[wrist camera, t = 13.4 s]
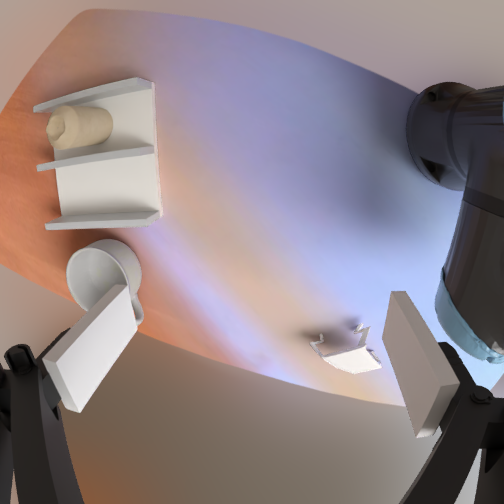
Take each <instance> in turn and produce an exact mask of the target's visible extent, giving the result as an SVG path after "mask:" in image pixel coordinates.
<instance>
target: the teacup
mask: <svg viewBox="0 0 504 504" xmlns="http://www.w3.org/2000/svg"><path fill="white" fill-rule="evenodd" d="M141 278H142V272H141V266H140V263H139V260H138V258H137V257H136V255H135V254H134V252H133V251H132V250H131V249H130V248H129V247H128V246H127V245H125V244H124V243H122V242H120V241H117V240H113V239H103V240H99V241H96V242H94V243H92V244H90V245H88V246H86V247H84V248H82V249H79V250H78V251H76V252H75V253H74V254H73V255H72V256H71V258H70V259H69V261H68V264H67V268H66V279H67V284H68V288H69V290H70V293H71V295H72V296H73V298H74V300H75V301H76V302H77V303H78V305H79V306H81V307H82V308H83V309H84V310H85V311H87V312H88V311H89V310H90V309H91V308H92V307H93V306H94V305H95V304H96V303H97V302H98V301H99V300H100V299H101V298H102V297H103V296H104V295H105V294H106V293H107V292H108V291H109V290H110V289H111V288H112V287H113V286H114V285H115V284H117V285H128V289H129V294H130V299H131V303H132V307H133V309H134V312H135V316H136V319H135V321H136V325H137V326H138V325H139V324H141V323H142V321H143V318H144V313H143V309H142V306H141V304H140V302H139V300H138V294H137V291H138V289H139V287H140V284H141Z"/></svg>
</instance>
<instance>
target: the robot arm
mask: <svg viewBox="0 0 504 504" xmlns="http://www.w3.org/2000/svg"><path fill="white" fill-rule="evenodd" d="M406 131H407V141H408V146H409V149H410V152H411V155H412V157H413V159H414V161H415V163H416V165H417V166H418V168H419V169H420V170H421V172H422V173H423V174H424V175H425V176H426V177H427V178H428V179H429V180H431V181H432V182H434V183H435V184H437V185H439V186H442V187H444V188H447V189H450V190H455V191H464V195H463V199H462V203H461V207H460V212H459V216H458V220H457V224H456V228H455V232H454V236H453V239H452V243H451V246H450V249H449V253H448V256H447V259H446V262H445V264H444V266H443V268H442V270H441V280H440V284H439V287H438V290H437V294H436V297H435V310H436V313H437V317H438V321H439V323H440V325H441V326H442V328H443V330H444V331H445V332H446V334H447V335H448V336H449V337H450V339H451V340H452V341H453V342H454V343H455V344H457V345H458V346H459V347H460V348H461V349H462V350H464V351H465V352H467V353H468V354H470V355H471V356H473V357H475V358H477V359H479V360H482V361H483V360H485V359H486V360H487V361H488V362H489V363H493V364H499V363H503V362H504V86H497V87H490V88H485V89H478V90H476V89H474V88H471V87H469V86H466V85H464V84H461V83H456V82H444V83H439V84H436V85H432V86H430V87H428V88H426V89H425V90H423V91H422V92H421V93H420V94H419V95H418V96H417V97H416V99H415V100H414V102H413V104H412V106H411V108H410V110H409V114H408V118H407V128H406ZM136 331H137V325H136V321H135V317H134V312H133V308H132V303H131V299H130V294H129V289H128V285H117V284H115V285H114V286H113V287H112V288H111V289H110V290H109V291H108V292H107V293H106V294H105V295H104V296H103V297H102V298H101V299H100V300H99V301H98V302H97V303H96V304H95V305H94V306H93V307H92V308H91V309H90V310H89V311H88V312H87V313H86V314H85V315H84V316H83V317H82V318H81V319H80V320H79V321H78V322H77V323H76V324H75V325H74V326H73V327H72V328H69V329H67V330H65V331H63V332H62V333H61V334H60V335H59V336H58V337H57V338H56V339H55V340H54V341H53V342H52V343H51V344H50V345H49V346H48V347H47V348H46V349H45V350H44V351H43V352H42V353H41V354H40V355H39V356H38V357H37V359H35V358H34V356H33V353H32V351H31V349H30V347H29V346H28V345H26V344H18V345H15V346H13V347H11V348H10V349H9V350H7V351H6V353H5V355H4V358H5V360H6V362H7V364H8V366H9V368H10V370H5V369H3V367H2V365H1V363H0V504H10V499H11V488H12V479H13V471H14V474H15V482H16V489H17V495H18V501H19V504H84V501H83V498H82V495H81V492H80V489H79V486H78V483H77V479H76V476H75V472H74V469H73V465H72V462H71V458H70V454H69V450H68V445H67V441H66V437H65V432H64V427H63V423H62V417H61V412H60V409H59V406H58V405H57V404H58V403H59V401H60V400H61V399H62V401H63V403H64V405H65V407H66V408H67V409H69V410H72V411H75V412H78V413H80V412H81V411H82V409H83V408H84V406H85V405H86V403H87V402H88V400H89V398H90V397H91V396H92V394H93V393H94V391H95V390H96V388H97V387H98V385H99V384H100V382H101V381H102V379H103V378H104V376H105V375H106V374H107V372H108V371H109V369H110V368H111V366H112V365H113V364H114V362H115V360H116V359H117V358H118V356H119V355H120V354H121V352H122V351H123V349H124V348H125V346H126V345H127V344H128V342H129V341H130V339H131V338H132V336H133V335H134V334H135V332H136ZM382 340H383V342H384V345H385V348H386V350H387V353H388V356H389V358H390V361H391V364H392V367H393V369H394V372H395V375H396V378H397V381H398V384H399V386H400V389H401V392H402V395H403V398H404V401H405V404H406V407H407V410H408V413H409V416H410V420H411V423H412V426H413V429H414V433H415V436H416V438H419V437H425V436H431V435H434V434H435V432H436V430H437V428H438V426H440V428H441V431H442V434H441V436H440V437H439V439H438V441H437V442H436V444H435V446H434V448H433V450H432V452H431V454H430V456H429V458H428V459H427V461H426V463H425V464H424V466H423V468H422V469H421V471H420V472H419V474H418V476H417V477H416V479H415V480H414V482H413V483H412V485H411V487H410V488H409V490H408V491H407V492H406V494H405V495H404V497H403V499H402V500H401V501H400V503H399V504H454V503H455V501H456V499H457V497H458V495H459V493H460V491H461V489H462V487H463V485H464V483H465V480H466V478H467V476H468V474H469V472H470V469H471V467H472V464H473V462H474V460H475V457H476V455H477V452H478V450H479V449H482V453H481V462H480V470H479V477H478V484H477V490H476V495H475V501H474V504H504V398H495V397H493V394H492V393H491V392H490V391H489V390H488V389H487V388H485V387H483V386H478V385H476V384H475V382H474V380H473V379H472V377H471V375H470V373H469V372H468V370H467V368H466V367H465V365H464V364H463V362H462V360H461V358H459V355H458V354H457V352H456V350H455V349H454V348H453V347H452V346H451V345H449V344H448V343H447V342H438V343H437V341H436V339H435V338H434V336H433V334H432V333H431V331H430V329H429V328H428V326H427V324H426V323H425V321H424V320H423V318H422V316H421V315H420V313H419V312H418V310H417V308H416V307H415V305H414V304H413V302H412V301H411V299H410V297H409V296H408V294H407V293H406V291H391V295H390V301H389V306H388V311H387V317H386V322H385V326H384V331H383V336H382Z"/></svg>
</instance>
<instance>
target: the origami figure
mask: <svg viewBox="0 0 504 504" xmlns="http://www.w3.org/2000/svg"><path fill="white" fill-rule="evenodd" d="M362 326H363V323H362V324H359V325H358V326H357V328H356V330H355V331H354V334H357V333H360V332H363V333H362V336H361V339H360V342H359V345H358V346H357V347H353V348H349V349H346V350H342V351H338V352H334V353H331V354H327V355H322V353H321V352H320V351H319V349H318V348H317V346H316V345H315V344H318V343H322V342H324V340H323V334H320V341H316V342H310V346H311V347H312V348H313V349H314V351H315V352H316V353H317V354H318V355H319V356H320V357H321V358H322V359H324V360H325V361H327V362H328V363H330V364H331V365H333V366H334V367H336V368H338V369H341V370H344V371H347V372H350V373H353V374H356V373H360V372H365V371H370V370H374V369H379V368H382V366H381V362H380V360H379V359H378V357H377V356H376V355H375V353H374V351H372V352H371V353H372V355H373V357H374V358H373V357H371V355H370V354H369V353H368V351H367V350H366V349H365V348H366V346H367V344H365V340H366V338H367V336H368V333H369V331H370V327H367V328H364V329H362V330H360V329H361V327H362Z"/></svg>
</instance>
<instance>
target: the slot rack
mask: <svg viewBox="0 0 504 504" xmlns="http://www.w3.org/2000/svg"><path fill="white" fill-rule="evenodd" d="M61 106H83V107H98V108H103V109H106V110H107V111H108V112H109V113H110V114H111V116H112V119H113V129H112V132H111V135H110V136H109V138H108V139H107V140H106V141H105V142H103V143H101V144H98V145H92V146H84V147H77V148H70V149H63V150H59V149H56V148H54V158H55V161H53V162H48V163H44V164H39V165H37V172H38V171H43V170H49V169H54V168H55V169H56V178H57V186H58V194H59V201H60V208H61V214H62V216H61V217H58V218H56V219H54V220H52V221H50V222H48V223H46V224H45V227H46V230H61V229H88V228H121V227H148V226H149V225H151V224H152V223H153V222H155V221H156V220H158V219H159V218H160V217H162V216H163V209H162V199H161V188H160V176H159V162H158V147H157V129H156V105H155V83H154V82H151V81H148V80H145V79H142V78H138V77H135V78H130V79H125V80H121V81H117V82H112V83H108V84H104V85H100V86H96V87H93V88H89V89H85V90H82V91H78V92H75V93H72V94H68V95H65V96H62V97H59V98H56V99H53V100H50V101H47V102H44V103H41V104H38V105H36V106H33V112H34V113H45V112H52V113H53V112H54V111H55V110H56V109H57V108H58V107H61Z"/></svg>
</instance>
